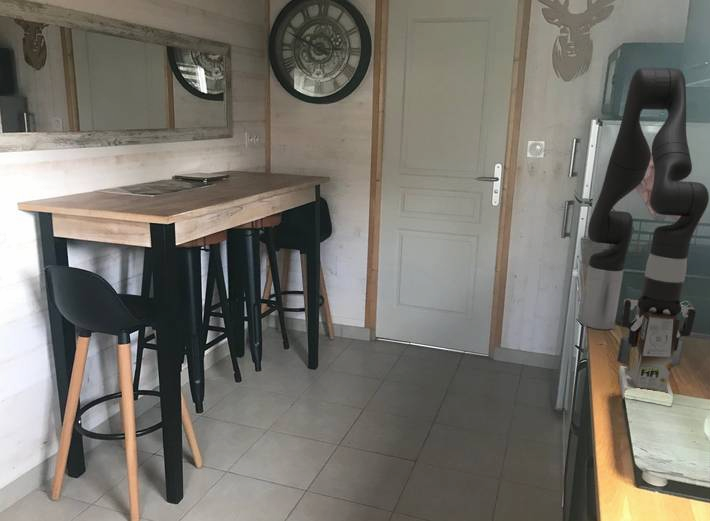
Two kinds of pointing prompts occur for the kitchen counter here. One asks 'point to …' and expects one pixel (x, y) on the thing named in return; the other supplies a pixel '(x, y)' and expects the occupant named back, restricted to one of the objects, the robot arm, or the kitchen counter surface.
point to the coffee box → (653, 350)
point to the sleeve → (625, 350)
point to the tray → (629, 384)
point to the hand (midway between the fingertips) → (651, 348)
